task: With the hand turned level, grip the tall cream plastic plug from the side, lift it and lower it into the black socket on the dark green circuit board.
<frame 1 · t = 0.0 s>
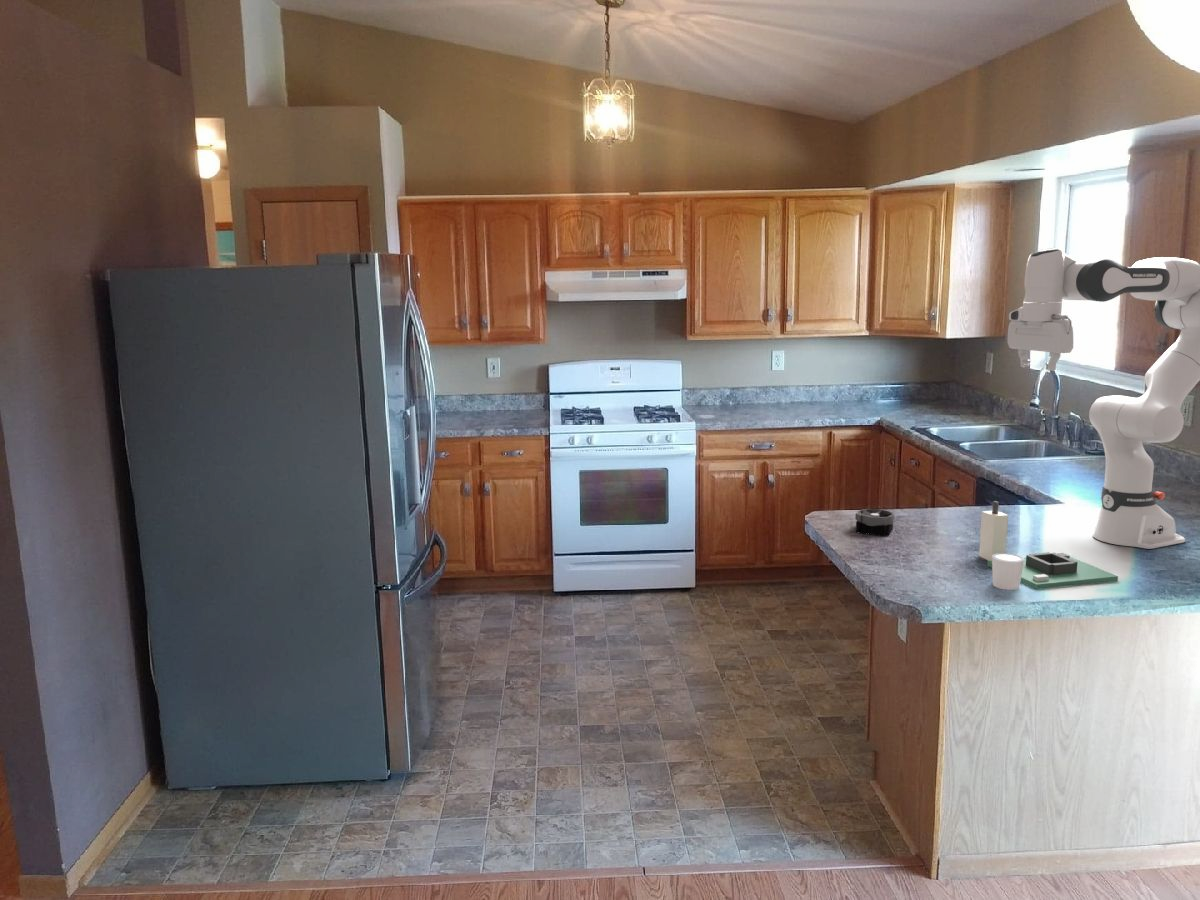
hand: (1037, 368, 225), 48 cm above the worktop, fingers open, 8 cm apart
white cup: (1005, 586, 207), on the worktop
plug: (991, 558, 227), on the worktop
circuit board: (1050, 573, 215), on the worktop
cpu cooler: (874, 532, 254), on the worktop
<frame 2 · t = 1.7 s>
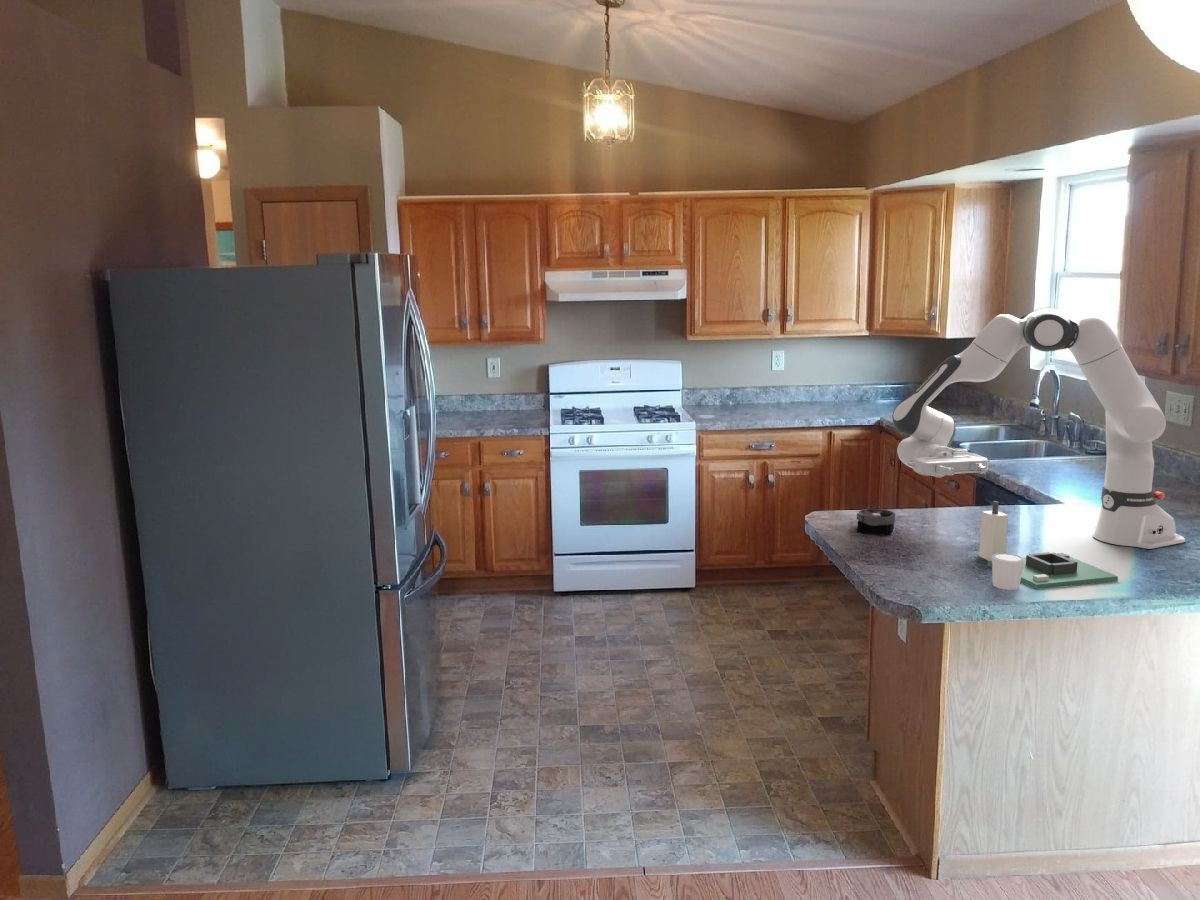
hand: (967, 471, 235), 20 cm above the worktop, fingers open, 8 cm apart
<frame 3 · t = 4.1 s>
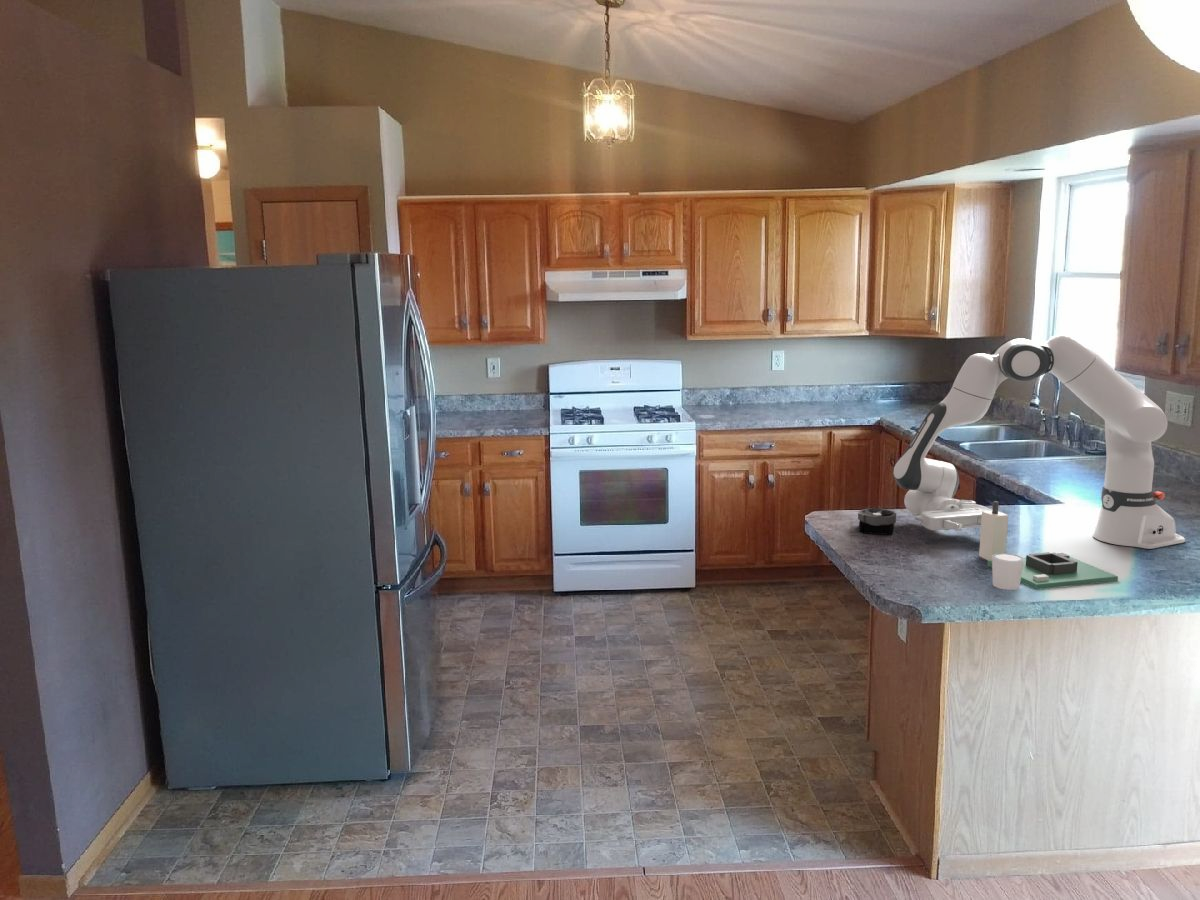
hand: (975, 526, 233), 6 cm above the worktop, fingers open, 8 cm apart
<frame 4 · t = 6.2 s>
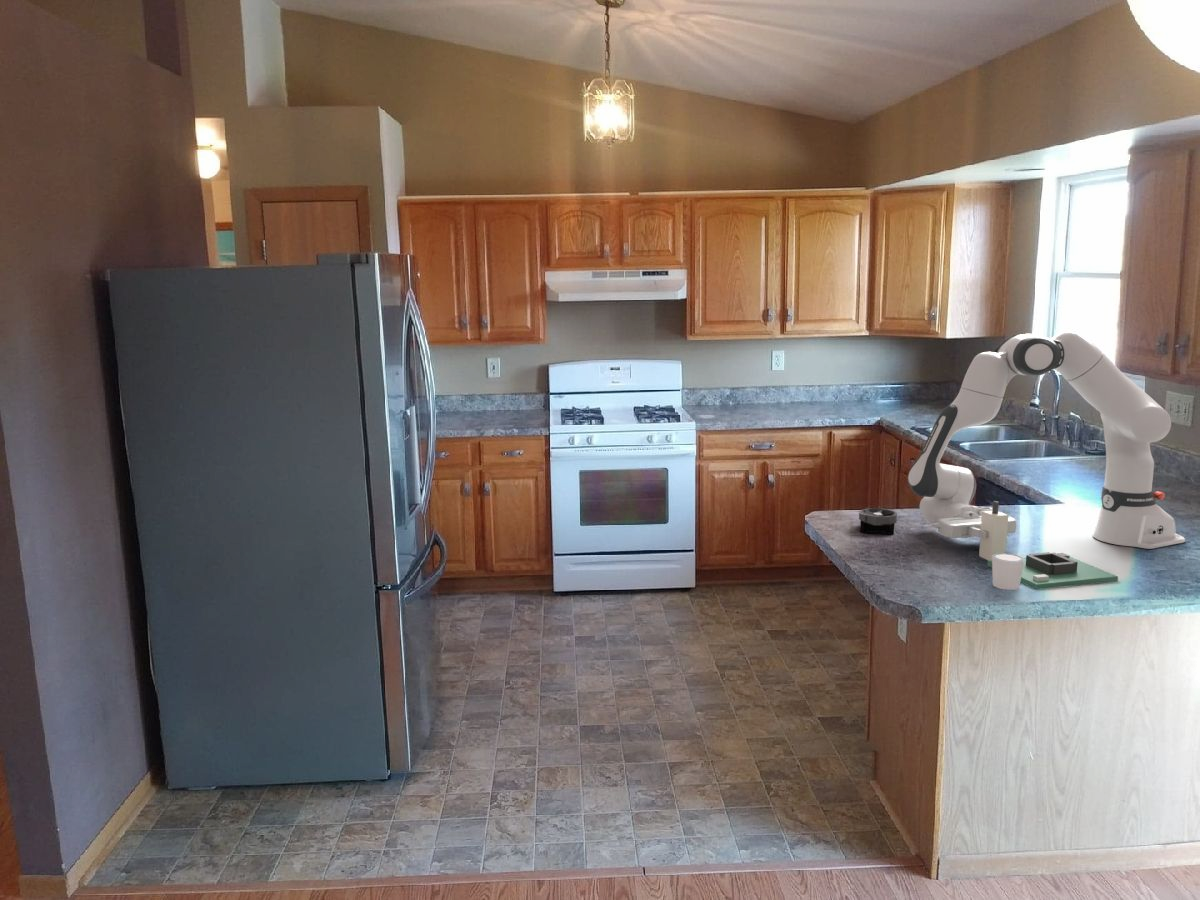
hand: (995, 534, 225), 7 cm above the worktop, fingers closed on plug, 4 cm apart
plug: (992, 558, 227), on the worktop, touching gripper
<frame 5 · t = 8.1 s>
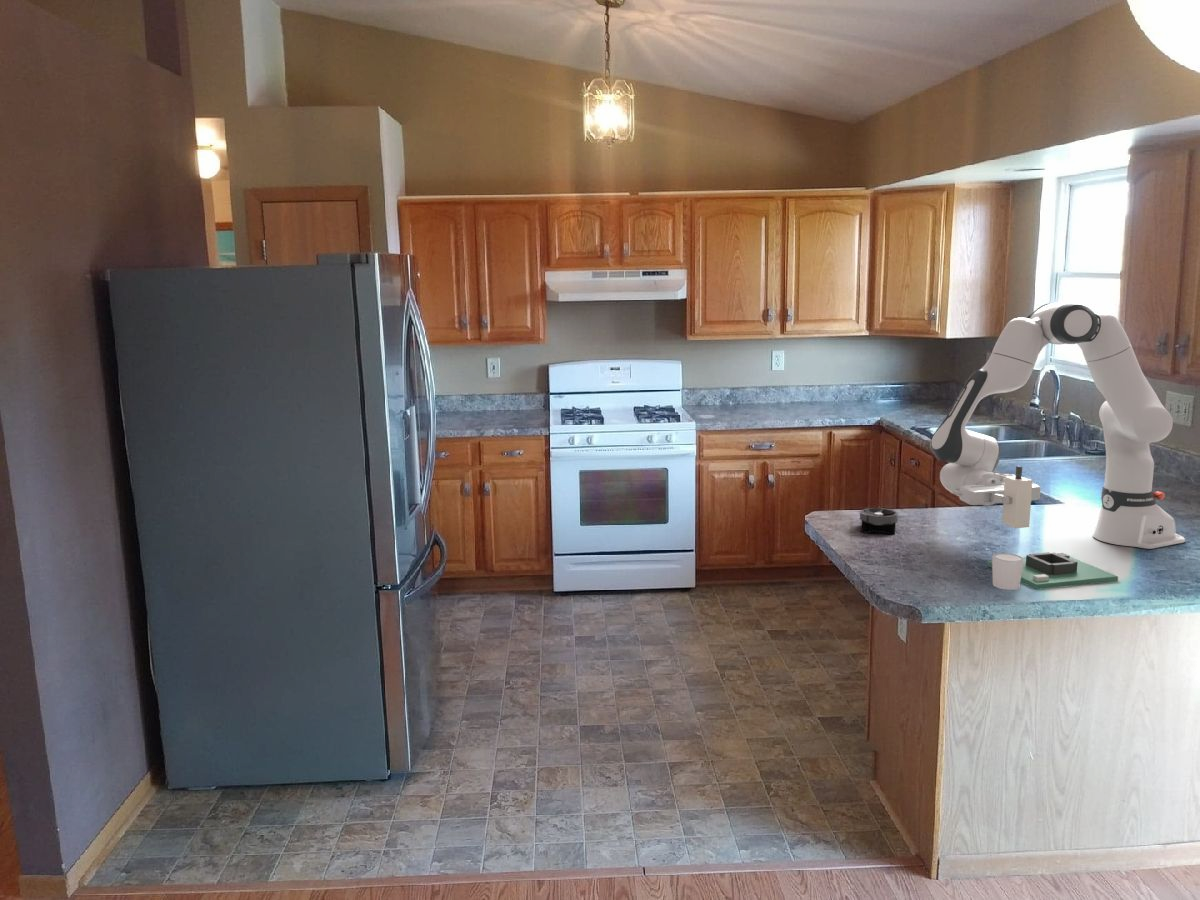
hand: (1019, 500, 219), 17 cm above the worktop, fingers closed on plug, 4 cm apart
plug: (1015, 525, 221), point 10 cm above the worktop, touching gripper
when the fingers open (9 cm above the worktop, at t = 10.2 s): plug drops 2 cm, resting on circuit board.
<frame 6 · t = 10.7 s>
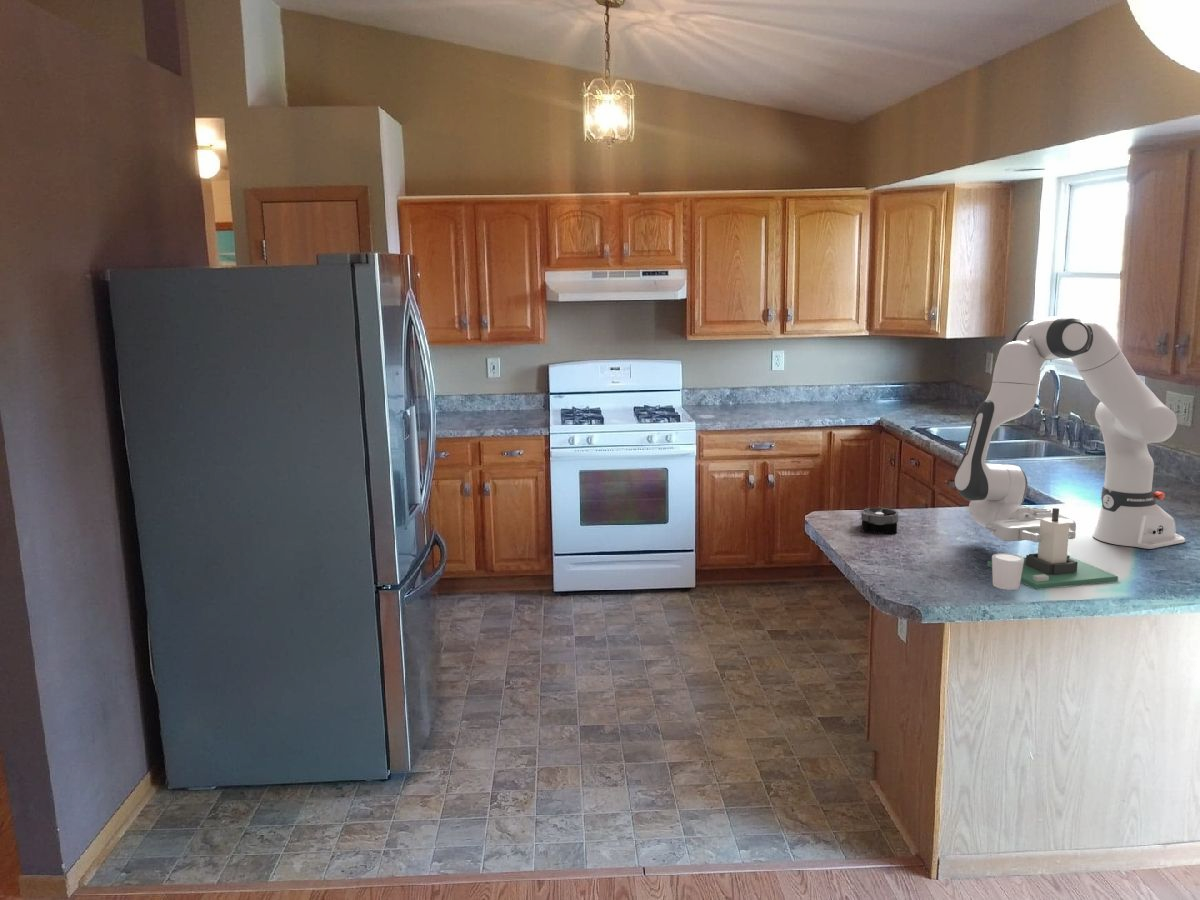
hand: (1055, 537, 212), 9 cm above the worktop, fingers open, 8 cm apart
plug: (1051, 568, 214), point 1 cm above the worktop, touching circuit board
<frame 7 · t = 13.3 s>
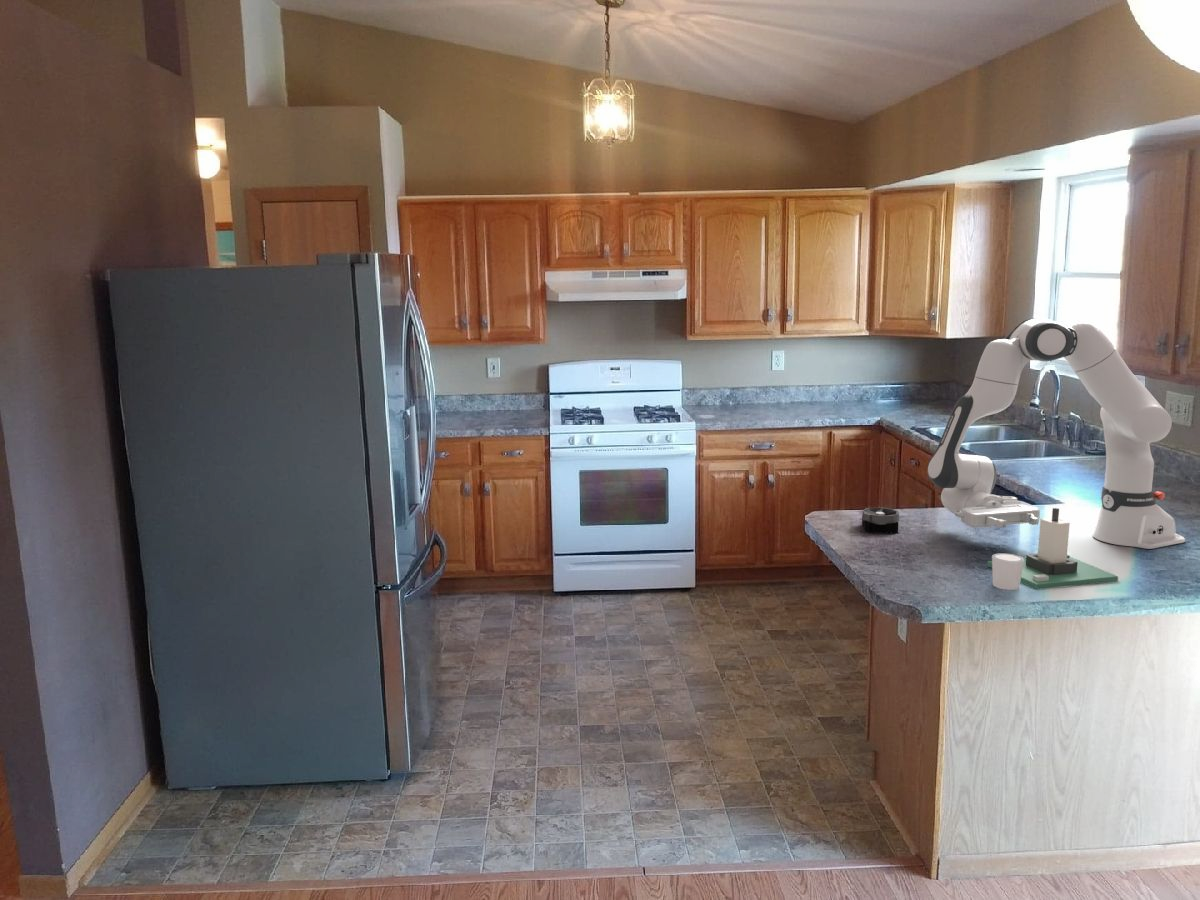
hand: (1019, 523, 225), 9 cm above the worktop, fingers open, 8 cm apart
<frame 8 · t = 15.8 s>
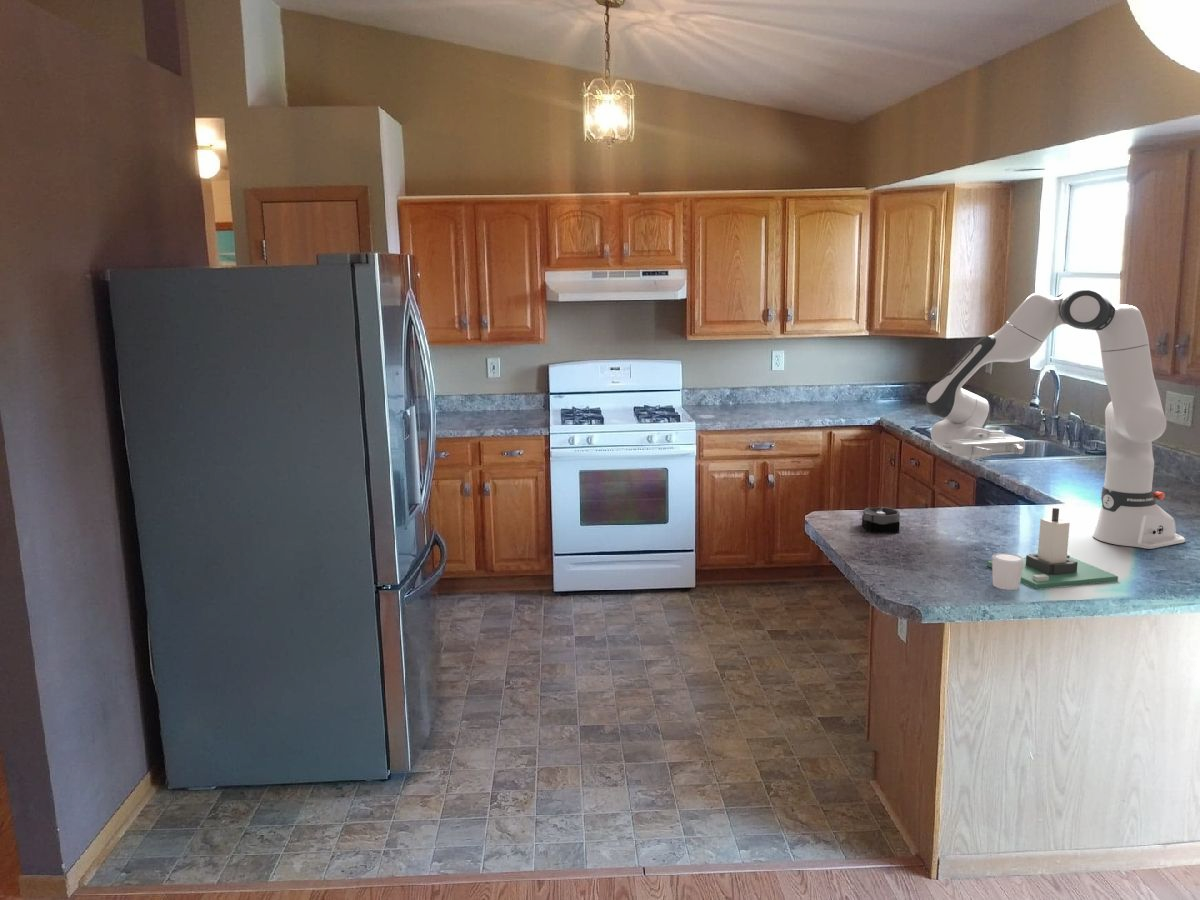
hand: (1005, 451, 231), 26 cm above the worktop, fingers open, 8 cm apart
at the end: plug 0.1 cm off-centre on the circuit board, point 1.2 cm above the circuit board's base; plug tilted 0°; the gripper is holding nothing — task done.
